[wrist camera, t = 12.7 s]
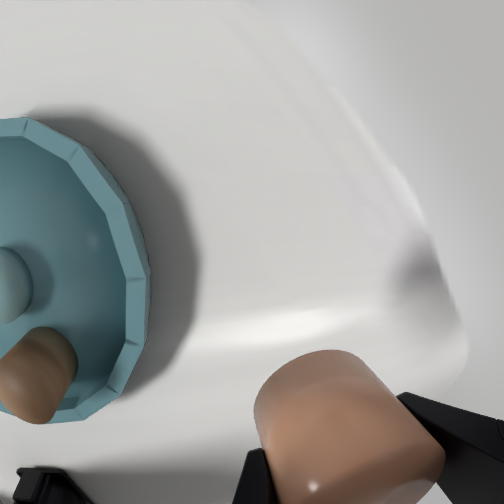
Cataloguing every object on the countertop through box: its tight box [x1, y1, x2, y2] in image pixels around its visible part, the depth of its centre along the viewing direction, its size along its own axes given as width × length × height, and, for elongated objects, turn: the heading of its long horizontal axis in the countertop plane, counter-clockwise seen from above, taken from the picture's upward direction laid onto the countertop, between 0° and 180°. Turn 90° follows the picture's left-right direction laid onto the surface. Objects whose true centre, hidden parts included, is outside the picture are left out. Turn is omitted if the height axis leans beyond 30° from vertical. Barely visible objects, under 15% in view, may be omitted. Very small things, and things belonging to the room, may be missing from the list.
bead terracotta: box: [254, 350, 446, 504], centre depth 8 cm, size 4×4×4 cm
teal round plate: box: [0, 118, 151, 424], centre depth 15 cm, size 19×19×2 cm
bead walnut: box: [0, 326, 79, 424], centre depth 15 cm, size 4×4×4 cm
